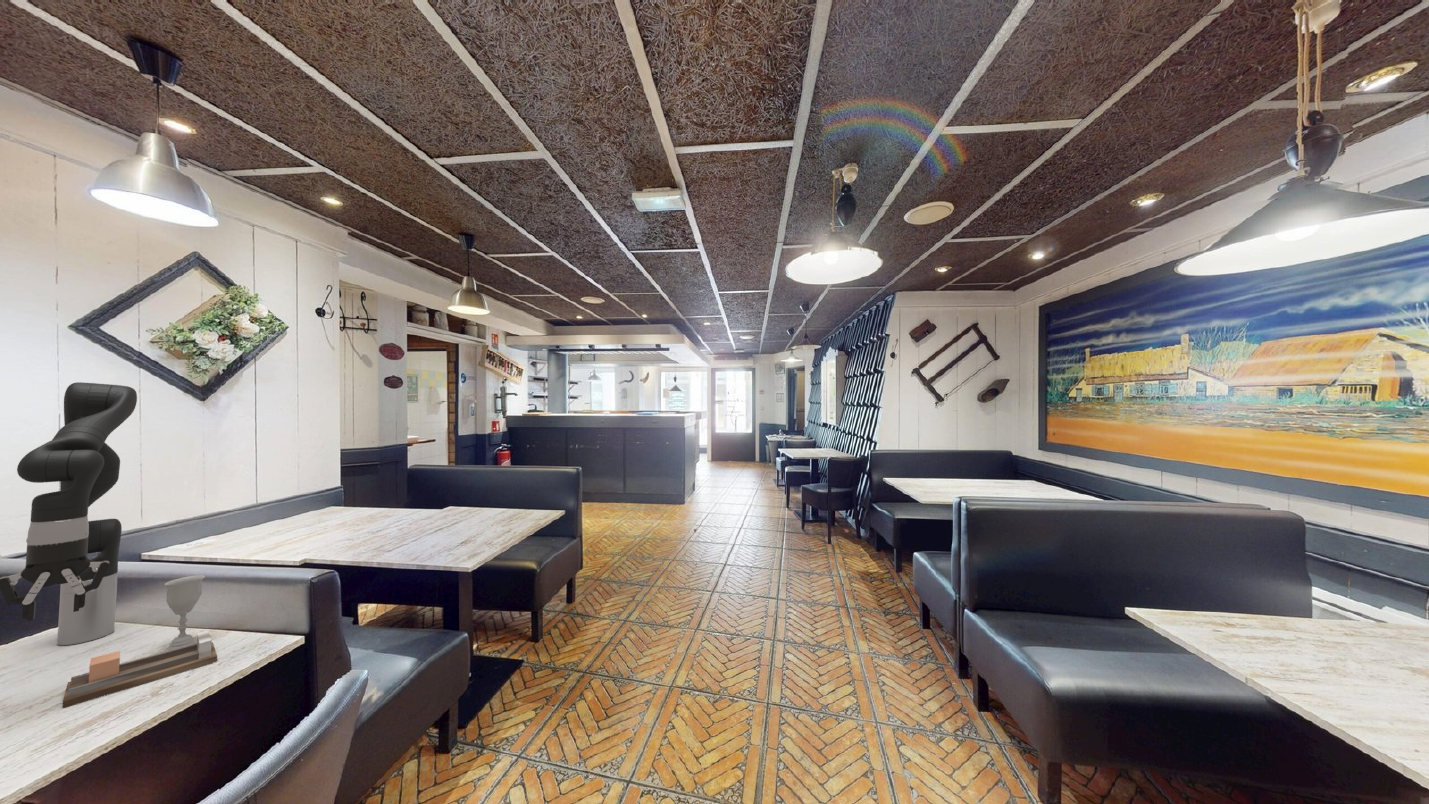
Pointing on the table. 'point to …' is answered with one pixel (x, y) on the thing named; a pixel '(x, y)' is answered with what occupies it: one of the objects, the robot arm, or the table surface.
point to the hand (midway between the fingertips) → (54, 614)
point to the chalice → (183, 605)
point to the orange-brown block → (104, 666)
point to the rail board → (142, 671)
